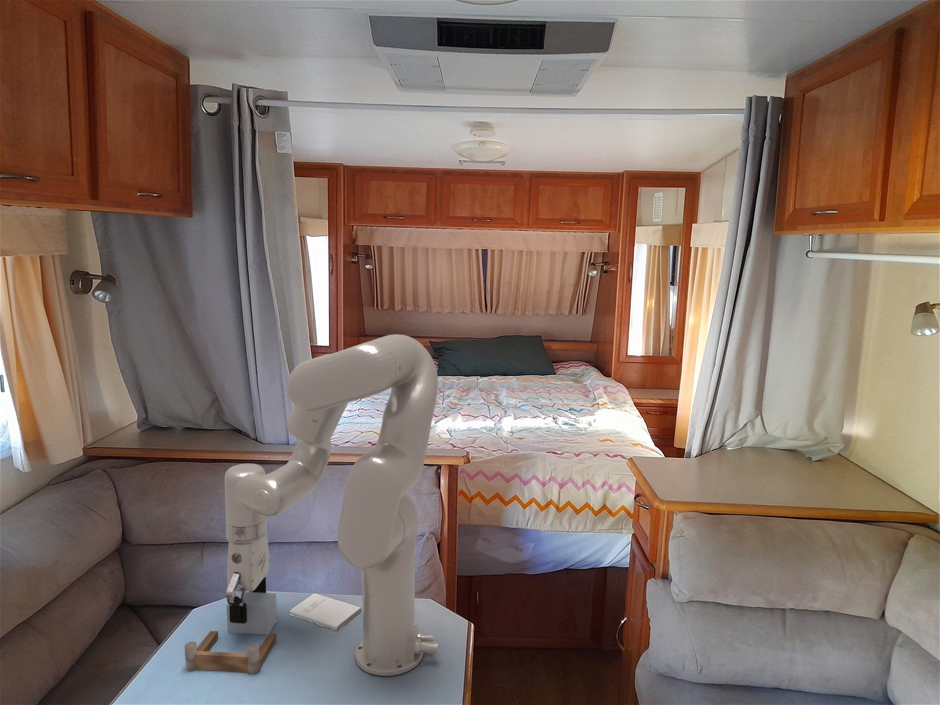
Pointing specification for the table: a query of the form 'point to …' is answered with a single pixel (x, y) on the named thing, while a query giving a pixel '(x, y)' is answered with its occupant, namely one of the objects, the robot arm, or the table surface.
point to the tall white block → (256, 614)
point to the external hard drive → (326, 611)
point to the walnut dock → (226, 656)
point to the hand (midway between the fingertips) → (248, 608)
